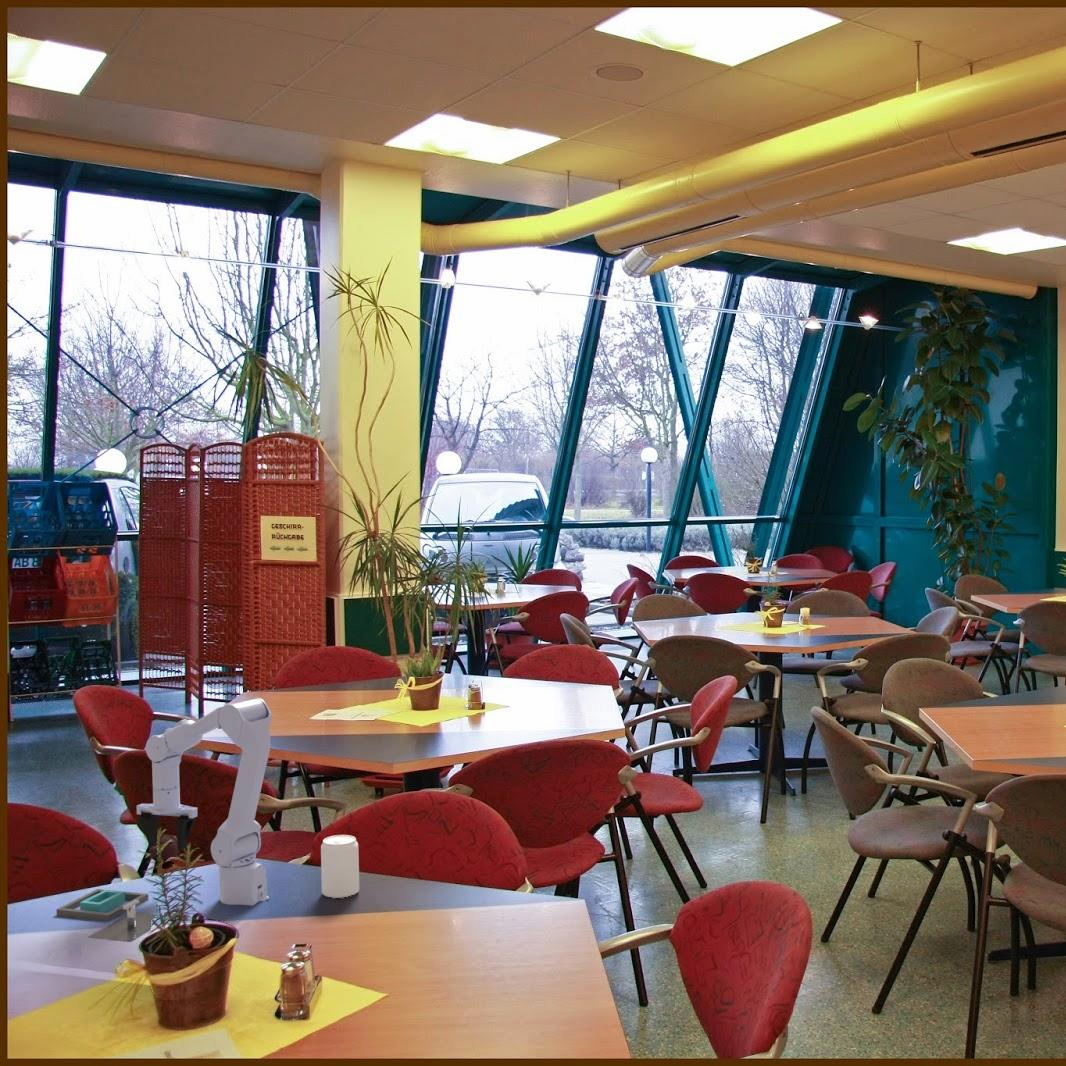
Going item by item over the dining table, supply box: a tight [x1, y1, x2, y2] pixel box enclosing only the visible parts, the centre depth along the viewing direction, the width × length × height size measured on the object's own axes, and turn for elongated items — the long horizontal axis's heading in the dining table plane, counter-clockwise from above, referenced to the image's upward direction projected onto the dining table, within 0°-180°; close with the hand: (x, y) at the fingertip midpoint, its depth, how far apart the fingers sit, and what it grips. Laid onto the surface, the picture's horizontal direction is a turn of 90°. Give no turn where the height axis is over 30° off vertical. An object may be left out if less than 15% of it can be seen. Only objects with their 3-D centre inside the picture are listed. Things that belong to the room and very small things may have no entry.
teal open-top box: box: [79, 889, 126, 913], centre depth 243 cm, size 5×9×3 cm, turn 162°
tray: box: [55, 888, 149, 922], centre depth 244 cm, size 13×13×2 cm
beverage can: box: [320, 834, 360, 899], centre depth 253 cm, size 8×8×12 cm
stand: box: [87, 900, 159, 943], centre depth 232 cm, size 10×14×6 cm
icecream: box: [148, 834, 180, 870], centre depth 278 cm, size 7×7×15 cm
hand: (167, 847), depth 258 cm, fingers open, 7 cm apart
